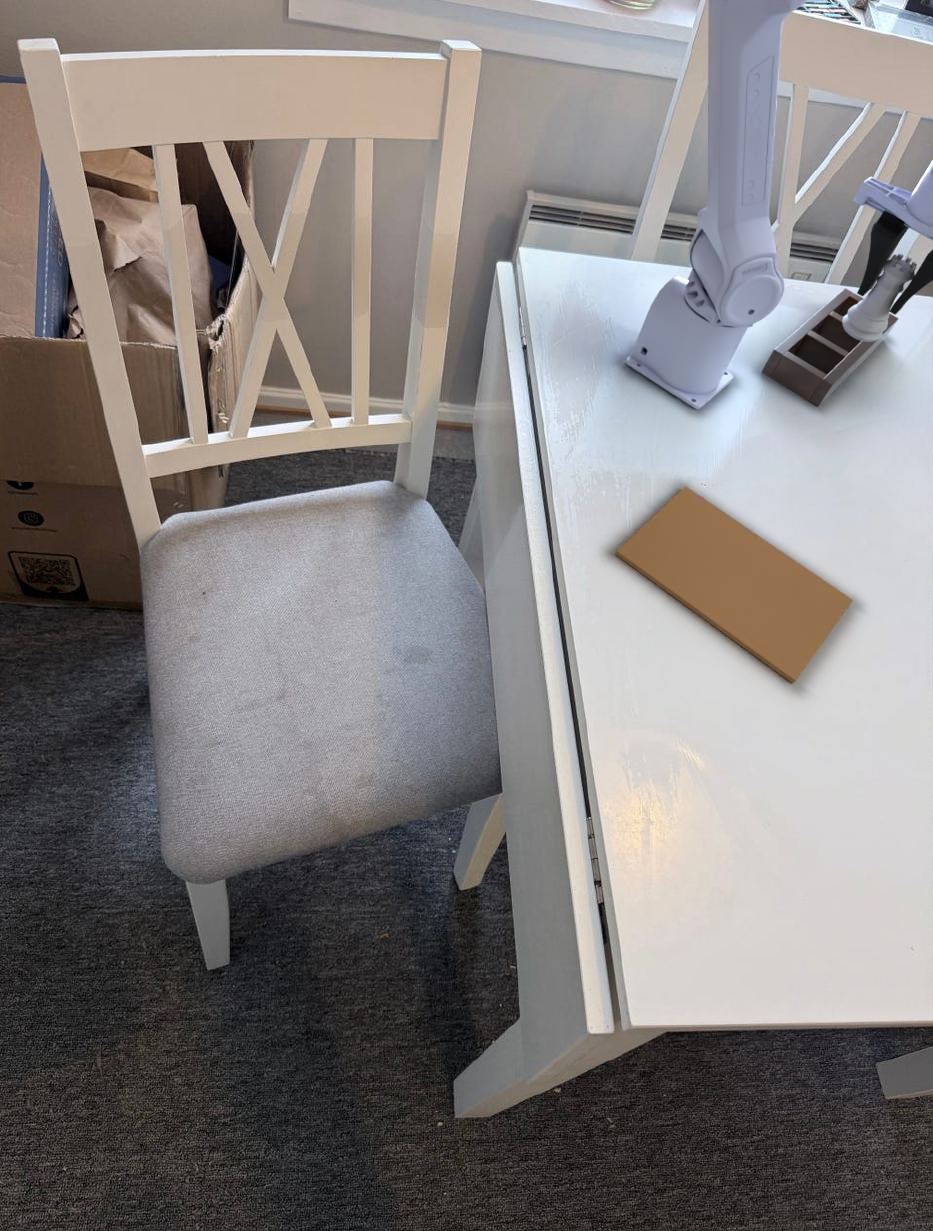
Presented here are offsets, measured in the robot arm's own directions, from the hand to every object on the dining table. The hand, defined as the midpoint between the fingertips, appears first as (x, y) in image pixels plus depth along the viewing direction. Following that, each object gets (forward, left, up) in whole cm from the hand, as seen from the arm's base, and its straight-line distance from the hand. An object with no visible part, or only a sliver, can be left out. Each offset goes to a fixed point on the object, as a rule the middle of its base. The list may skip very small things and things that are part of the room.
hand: (879, 301), depth 86 cm
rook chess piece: (0, 0, -4) cm, 4 cm away
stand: (-2, +5, -10) cm, 12 cm away
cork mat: (+7, -34, -10) cm, 37 cm away
